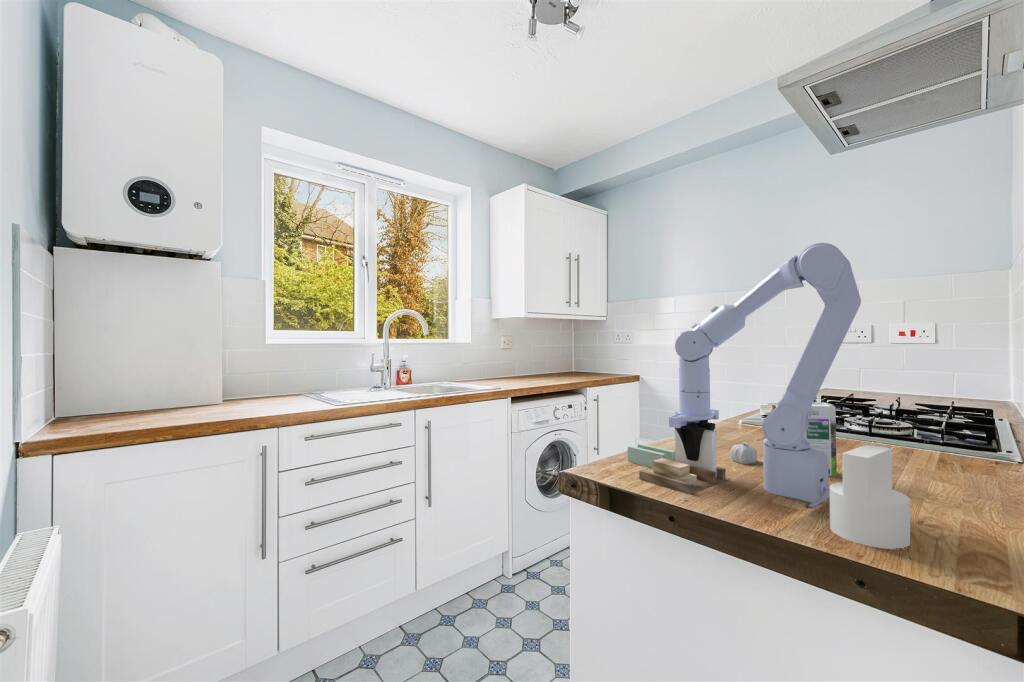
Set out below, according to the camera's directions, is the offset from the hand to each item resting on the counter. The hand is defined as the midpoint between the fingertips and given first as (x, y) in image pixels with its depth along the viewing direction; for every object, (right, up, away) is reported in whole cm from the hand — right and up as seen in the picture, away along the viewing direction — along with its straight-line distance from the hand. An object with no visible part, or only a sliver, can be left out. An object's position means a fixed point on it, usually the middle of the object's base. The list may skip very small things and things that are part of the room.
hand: (695, 459), depth 89 cm
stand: (-6, -4, +8) cm, 11 cm away
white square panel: (0, -3, 0) cm, 3 cm away
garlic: (+15, -4, +10) cm, 18 cm away
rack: (-3, -4, -2) cm, 5 cm away
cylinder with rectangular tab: (+14, -4, -25) cm, 30 cm away
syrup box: (+26, -4, +3) cm, 26 cm away
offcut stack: (-6, -3, -4) cm, 8 cm away
